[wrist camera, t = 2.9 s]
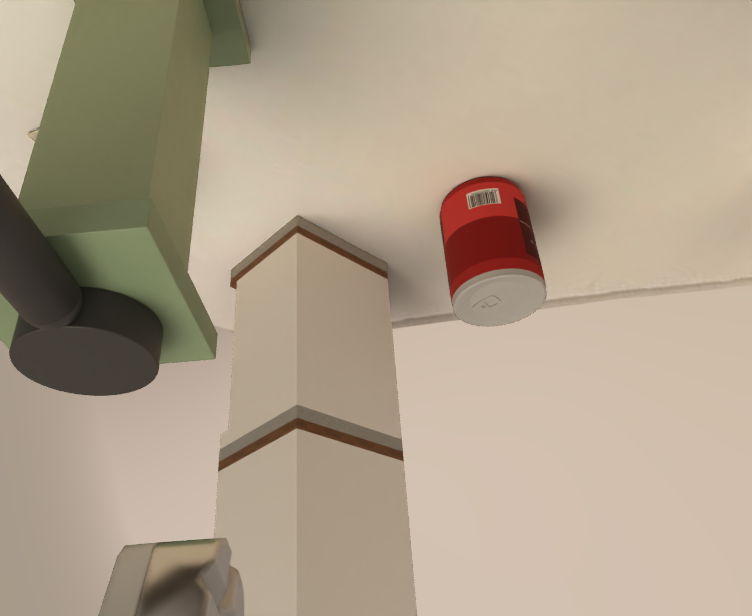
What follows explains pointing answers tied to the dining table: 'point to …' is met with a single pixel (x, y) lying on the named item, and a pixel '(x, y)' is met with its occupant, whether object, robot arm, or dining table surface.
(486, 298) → the canned food
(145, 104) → the stand
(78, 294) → the dark grey paddle
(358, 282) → the white channel column
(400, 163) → the dining table surface
